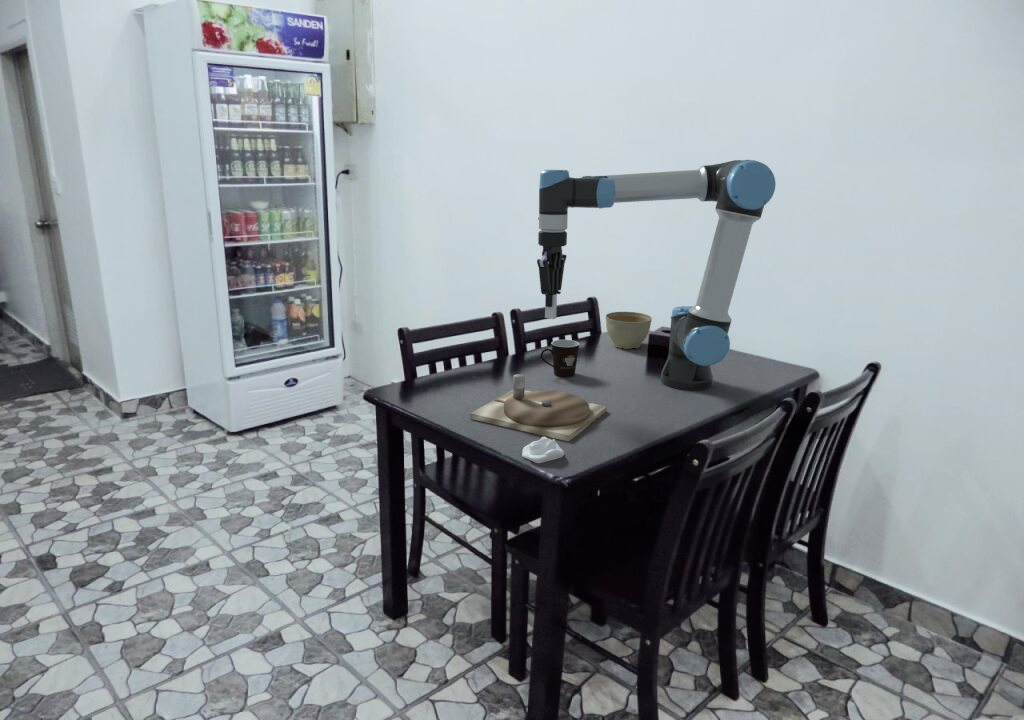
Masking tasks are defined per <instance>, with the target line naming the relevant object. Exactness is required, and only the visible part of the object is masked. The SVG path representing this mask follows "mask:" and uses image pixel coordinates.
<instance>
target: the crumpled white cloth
mask: <svg viewBox="0 0 1024 720" xmlns="http://www.w3.org/2000/svg"><path fill="white" fill-rule="evenodd" d="M521 453H522V454H521V456H522V458H523V459H527V460H528V461H529V460H530V461H531V462H534V463H535V464H541V463H546V462H549V461H553V460H557V459H560V458H562V457H564V455H565V451H564V449H562V448H561V447H560V445H559V444H558V443H557V442H556V438H552V439H551V438H549V437H547V436H541V438H540V439H539V440H534V441H532V442H530V443H529V444H527V445H525V446H524V447H523V448H522V451H521Z"/></svg>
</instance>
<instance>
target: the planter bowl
mask: <svg viewBox="0 0 1024 720" xmlns="http://www.w3.org/2000/svg"><path fill="white" fill-rule="evenodd" d="M652 320H653V317H651V315H649V314H645V313H641V312H634V311H613V312H609V313H607V314H605V327H606V331H607V334H608V336H609V339H610V340H611V341H612V345H613V346H614V347H615V348H617V347H618V348H617V349H622V348H624V349H623V350H631V349H630V348H636V349H638V348H637V347H639V346H640V347H641V346H642V343H643V342H644V341H645V339H646V338H647V336H648V335H649V332H650V329H651V324H652ZM640 347H639V348H640Z"/></svg>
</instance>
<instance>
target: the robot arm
mask: <svg viewBox="0 0 1024 720" xmlns="http://www.w3.org/2000/svg"><path fill="white" fill-rule="evenodd" d="M569 173H570V172H569V171H568V169H544V170H542V171H541V172H540V173H539V189H538V190H539V191H538V194H539V196H538V218H537V220H538V230H539V229H540V230H539V231H538V236H537V237H538V240H537V241H538V242H537V244H538V246H540V247H542V251H541V258H538V259H537V260H536V263H537V267H538V275H539V284H540V293H541V294H542V295H545V297H544V299H545V302H544V303H545V304H544V305H545V307H544V318H545V319H549V320H551V319H552V320H555V319H557V310H558V309H557V307H558V306H557V305H558V299H557V298H558V295H561V293H562V285H563V280H564V279H563V278H564V277H563V276H564V271H565V264H566V259H567V254H564V253H563V247H565V246H567V244H568V241H567V240H568V232H567V231H566V230H567V229H568V220H569V219H568V215H569V214H568V211H569V210H568V209H569V208H587V209H589V208H591V209H608V208H609V209H610V208H612V207H613V206H614V204H616V203H617V204H618V203H632V202H633V203H634V202H653V201H656V202H657V201H670V200H687V199H688V200H691V199H697V200H699V201H700V202H716V205H715V212H716V213H717V215H718V219H717V220H718V221H717V224H716V227H715V232H714V234H713V239H712V243H711V247H710V250H709V254H708V258H707V262H706V266H705V268H704V269H705V270H704V273H703V277H702V281H701V284H700V288H699V291H698V295H697V298H696V301H695V302H696V303H695V305H693V306H685V305H683V306H682V305H681V306H675V307H673V309H672V311H671V316H670V332H669V342H668V343H669V345H668V355H667V358H666V360H665V363H664V366H663V368H662V370H661V373H660V382H661V383H662V384H664V385H666V386H667V387H671V388H675V389H679V390H688V391H697V390H698V391H701V390H705V389H709V388H711V387H712V386H713V381H714V376H713V371H712V368H711V366H714V365H716V364H718V363H720V362H721V361H723V360H724V359H725V358H726V356H727V355H728V353H729V351H730V347H731V342H730V341H731V340H730V337H729V331H730V327H731V324H732V317H731V316H730V314H729V309H730V306H731V302H732V298H733V295H734V291H735V287H736V284H737V280H738V278H739V277H738V276H739V274H740V270H741V266H742V262H743V259H744V256H745V252H746V248H747V246H748V242H749V238H750V236H751V235H750V234H751V231H752V228H753V224H754V223H756V222H757V221H759V220H761V218H762V214H763V212H764V208H765V206H766V205H767V204H768V203H769V202H770V201H771V199H772V198H773V196H774V193H775V191H776V186H777V184H776V178H775V174H774V173H773V171H772V169H771V168H770V167H769V166H768V165H767V164H765V163H763V162H761V161H757V160H755V159H742V160H741V159H738V160H737V159H735V160H730V161H725V162H721V163H715V164H707V165H701V166H700V167H699V168H698V169H691V170H690V169H689V170H676V171H675V170H674V171H673V170H671V171H660V172H643V173H642V172H641V173H640V172H639V173H627V174H626V173H624V174H608V175H595V176H593V175H592V176H591V175H583V176H582V177H571V176H570V174H569Z"/></svg>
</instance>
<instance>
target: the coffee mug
mask: <svg viewBox="0 0 1024 720" xmlns="http://www.w3.org/2000/svg"><path fill="white" fill-rule="evenodd" d="M550 345H551V349H550V348H545V349H543V350H542V351H541V352H540V358H541V360H542V362H545V363H546V364H547V365H549V366H550V367H552V368H553V375H554V376H556V377H558V378H567V379H568V378H572V377H575V375H576V370H577V369H576V368H577V362H578V356H579V350H580V342H578V341H576V340H571V339H556V340H553V341H551V343H550ZM547 351H549V352H550V353H551V355H552V364H551V362H548V361H547V360H546V359H544V357H543V355H544V354H545V352H547Z"/></svg>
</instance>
